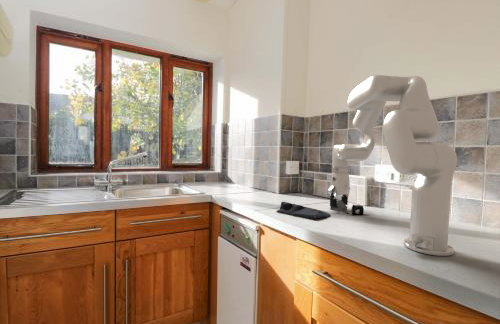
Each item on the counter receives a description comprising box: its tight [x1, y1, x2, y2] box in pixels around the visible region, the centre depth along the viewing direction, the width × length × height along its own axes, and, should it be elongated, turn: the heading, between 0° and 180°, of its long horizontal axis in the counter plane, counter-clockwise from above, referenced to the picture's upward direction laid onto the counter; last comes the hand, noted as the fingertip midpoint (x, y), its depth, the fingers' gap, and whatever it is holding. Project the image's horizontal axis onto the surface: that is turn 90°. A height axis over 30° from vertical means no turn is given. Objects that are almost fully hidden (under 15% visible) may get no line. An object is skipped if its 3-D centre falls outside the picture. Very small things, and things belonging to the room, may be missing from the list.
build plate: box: [345, 204, 369, 217], centre depth 123 cm, size 12×7×5 cm, turn 100°
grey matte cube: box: [329, 199, 348, 213], centre depth 130 cm, size 5×6×5 cm
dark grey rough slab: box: [276, 201, 332, 220], centre depth 121 cm, size 15×22×5 cm
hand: (338, 205), depth 130 cm, fingers open, 9 cm apart
